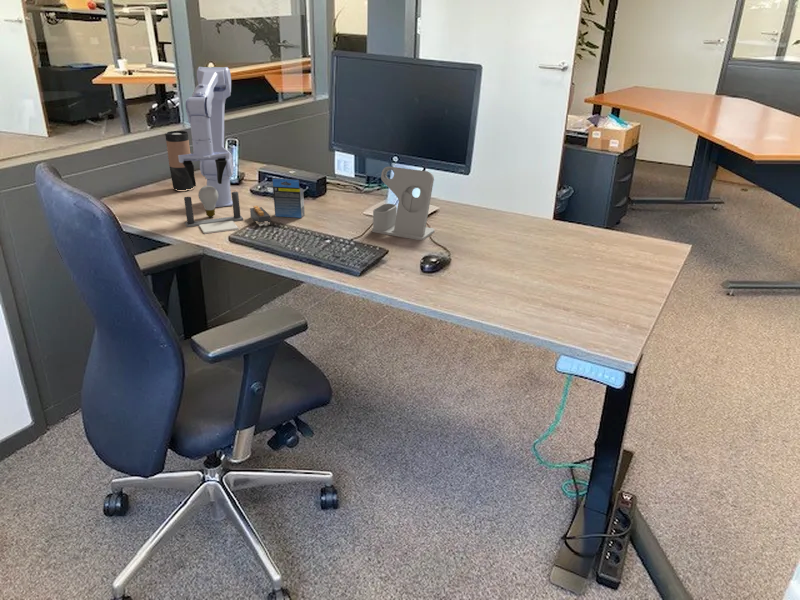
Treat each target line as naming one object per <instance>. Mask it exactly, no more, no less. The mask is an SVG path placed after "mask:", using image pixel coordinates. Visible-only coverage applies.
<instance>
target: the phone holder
mask: <svg viewBox="0 0 800 600" xmlns="http://www.w3.org/2000/svg"><path fill="white" fill-rule="evenodd" d="M389 171H392V172H393V177H392V178H388V176H387V173H388V172H389ZM380 179H381V181H382V182H383V184H385V186H386V187H387V188H388V189H390V190H391V192H392V193H393V194H394V196H396V198H397V199H398V202H397V205H396V204H394V203H385V204H382V205H380V206H378V207H376V208H374V209H373V210H372V218H373V219H372V220H373V221H372V223H373V224H372V228H371V231H372V232H373V233H374V234H375V233H376V234H382V235H388V236H393V237H399V238H405V239H411V240H415V241H416V240H417V241H424V240H426V239H427V238H429V237H430V236H431V235H432V234H434V233H435V228H433V227H427V221H428V216H429V212H430V211H429V210H430V204H431V199H432V192H433V187H434V181H435V177H434V174H433V173H432V172H430V171H427V170H421V169H420V170H419V169H412V168H411V169H410V168H404V167H395V166H385V167H384V168H383V169H382V171H381V176H380ZM414 189H419V191H420V195H419V196H417V197H415V196H414V195H413V191H414Z"/></svg>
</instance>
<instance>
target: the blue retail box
mask: <svg viewBox="0 0 800 600" xmlns="http://www.w3.org/2000/svg"><path fill="white" fill-rule="evenodd" d="M271 180H272V192H273V204H274V206H273V207H274V216H275V218H278V217H279V218H280V217H281V218H297V219H302V218H303V217H304V216H305V198H304V196H305V195H304V189H303V188H301V187H300V180H299V179H289V178H273V177H272V179H271ZM283 183H287V184H283Z"/></svg>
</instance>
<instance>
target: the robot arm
mask: <svg viewBox="0 0 800 600" xmlns="http://www.w3.org/2000/svg"><path fill="white" fill-rule="evenodd" d="M196 80H197V85H196V86H195V88H194V90H193V91H192V95H191V96H188V98H186V99H185V113H186V115H187V116H186V117H187V121H188V124H190V133H191V141H192V150H193V153H191V154H185V155H178V158H179V162H180V163H183V165H184V166H185V168H186V170H187V172H188V174H189V176H190V178H191V181H192V185H193V186H194V187H197V186H196V185H197V183H196V177H195V168H194V167H195V166H194V164H193V162H199V171H200V174H201V175H202V176H203V177H204V179H205V180H206V186H212V187H214V188H215V189H216V190H217V192H218V200H217V202H216V204H215V208H218V207H219V208H221V207H230V206H233V203H232V191H231V181H230V177H232V176H233V175H234V161H233V158H234V157H233V155H232V153H231V152H230V150H228V149H226V148H225V106H226V105H225V104H226V100H227V98H229V97H231V93H232V74H231V71H230V68H229V67H228V66H225V67H219V66H217V67H215V66H214V67H213V66H211V67H210V66H206V67H205V66H198V68H196Z"/></svg>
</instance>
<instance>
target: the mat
mask: <svg viewBox="0 0 800 600" xmlns="http://www.w3.org/2000/svg"><path fill="white" fill-rule="evenodd" d="M199 228H200V229H201V231H202V233H203V234H204V235H206V234H212V233H213V234H214V233H220V232H230V231H235V230H236V231H237V230H239V226H237V224H236V222H235V221H225V222H217V223H209V224H201V225H199Z"/></svg>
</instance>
